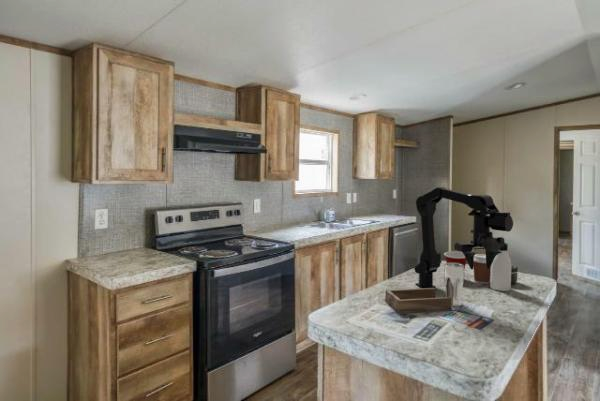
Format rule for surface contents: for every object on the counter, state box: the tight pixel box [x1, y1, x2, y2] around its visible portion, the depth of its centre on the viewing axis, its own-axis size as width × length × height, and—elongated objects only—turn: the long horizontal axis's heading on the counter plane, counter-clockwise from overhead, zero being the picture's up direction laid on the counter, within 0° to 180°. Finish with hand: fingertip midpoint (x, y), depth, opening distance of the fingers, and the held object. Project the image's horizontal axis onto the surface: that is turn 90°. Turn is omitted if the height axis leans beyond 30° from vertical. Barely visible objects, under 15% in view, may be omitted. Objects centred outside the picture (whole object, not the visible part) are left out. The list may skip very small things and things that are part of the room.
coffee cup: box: [473, 253, 491, 285], centre depth 170 cm, size 9×9×12 cm
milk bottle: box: [489, 242, 512, 292], centre depth 159 cm, size 8×8×20 cm
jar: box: [511, 264, 519, 286], centre depth 170 cm, size 10×10×8 cm
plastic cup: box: [443, 250, 467, 270], centre depth 175 cm, size 11×11×12 cm
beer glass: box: [443, 262, 465, 307], centre depth 141 cm, size 7×7×15 cm
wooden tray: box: [384, 287, 453, 315], centre depth 140 cm, size 14×20×4 cm
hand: (480, 268), depth 143 cm, fingers open, 7 cm apart
